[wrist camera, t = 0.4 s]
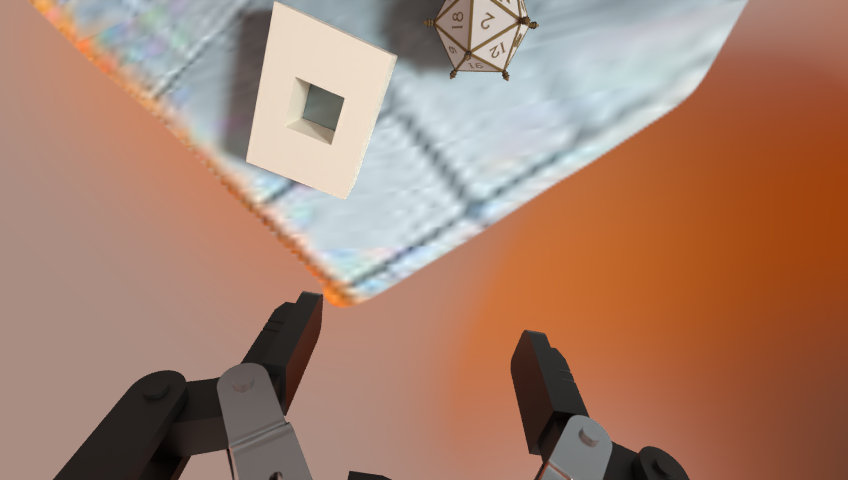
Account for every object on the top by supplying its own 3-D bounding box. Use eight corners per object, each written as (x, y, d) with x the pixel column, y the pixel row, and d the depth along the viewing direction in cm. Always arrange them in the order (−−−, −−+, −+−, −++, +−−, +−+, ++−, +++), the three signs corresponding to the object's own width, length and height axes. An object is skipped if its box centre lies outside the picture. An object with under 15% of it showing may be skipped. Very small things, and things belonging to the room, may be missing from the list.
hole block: (296, 8, 32) (274, 1, 28) (398, 55, 34) (392, 55, 29) (267, 149, 38) (245, 161, 34) (354, 184, 40) (344, 199, 36)
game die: (458, 16, 35) (427, -79, 26) (546, 13, 33) (546, -95, 23) (439, 102, 35) (401, 37, 26) (527, 107, 32) (519, 36, 23)
